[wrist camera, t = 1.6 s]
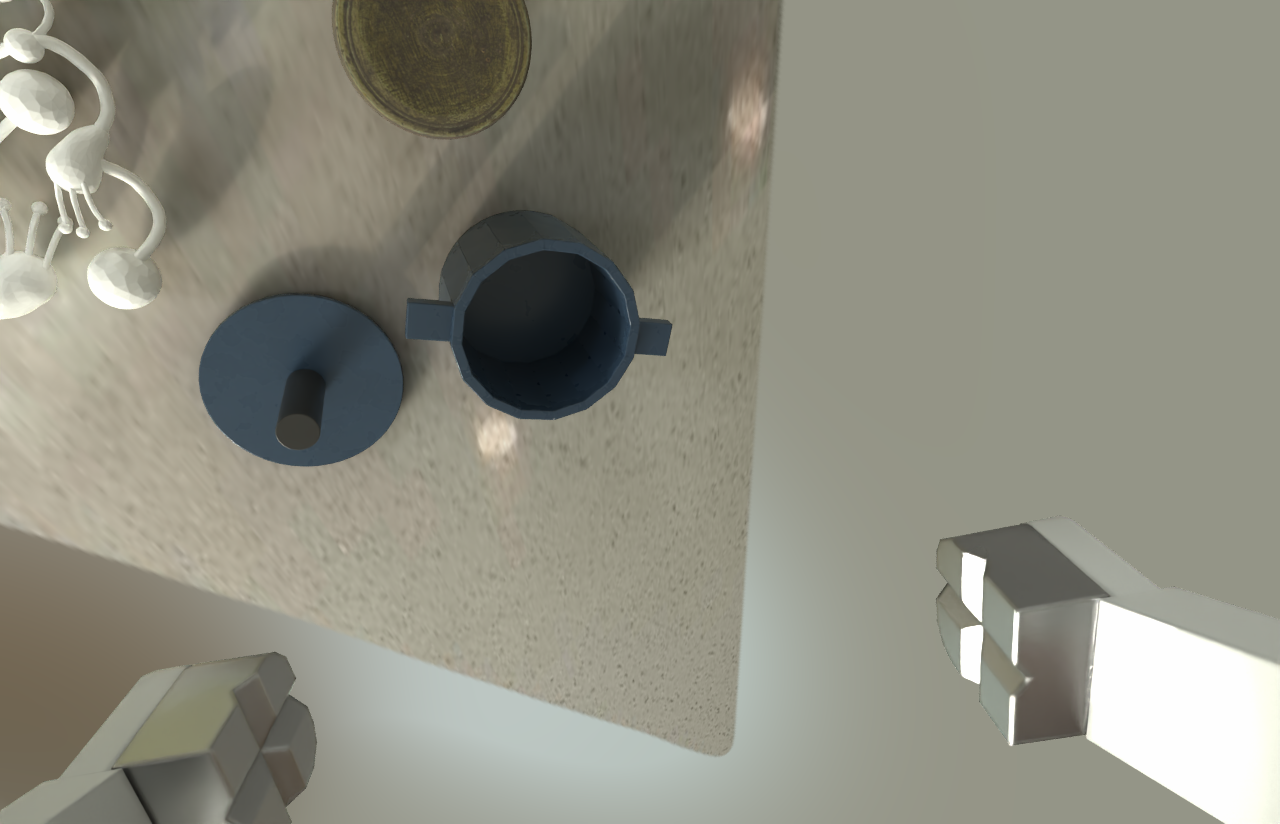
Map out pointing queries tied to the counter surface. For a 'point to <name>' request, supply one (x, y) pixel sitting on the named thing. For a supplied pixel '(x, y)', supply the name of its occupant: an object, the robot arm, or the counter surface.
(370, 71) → the container
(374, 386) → the lid
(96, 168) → the tangled rod sculpture
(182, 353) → the counter surface
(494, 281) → the pot
